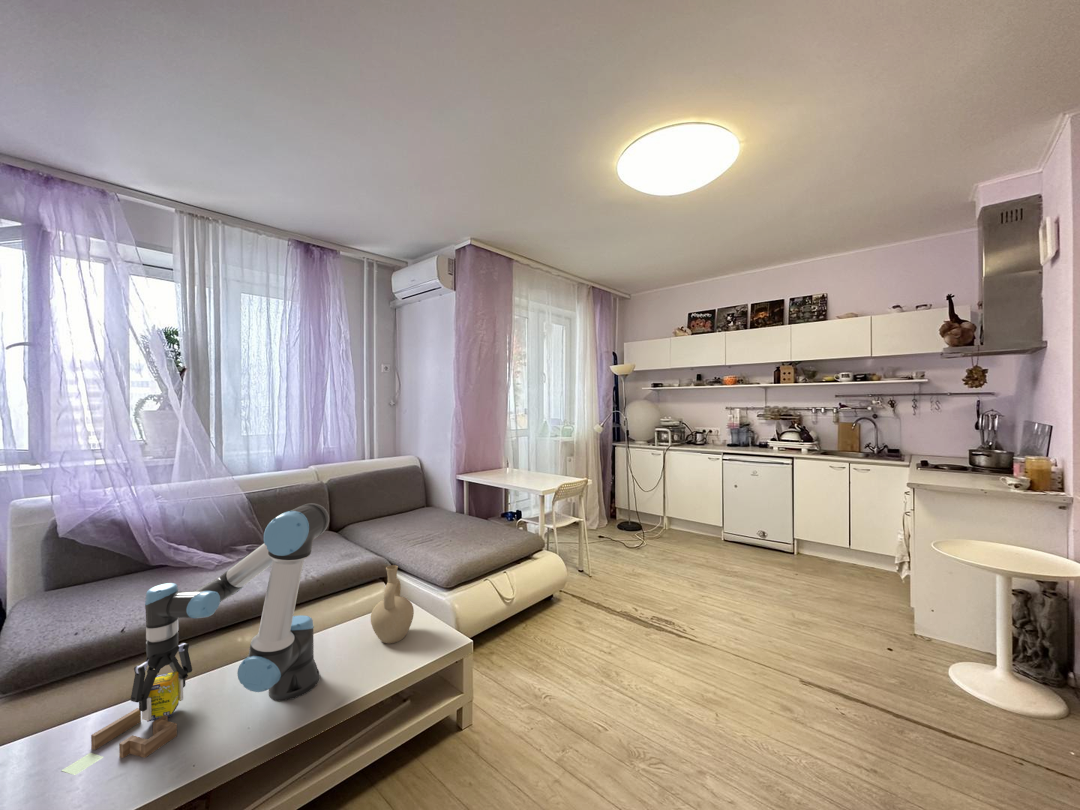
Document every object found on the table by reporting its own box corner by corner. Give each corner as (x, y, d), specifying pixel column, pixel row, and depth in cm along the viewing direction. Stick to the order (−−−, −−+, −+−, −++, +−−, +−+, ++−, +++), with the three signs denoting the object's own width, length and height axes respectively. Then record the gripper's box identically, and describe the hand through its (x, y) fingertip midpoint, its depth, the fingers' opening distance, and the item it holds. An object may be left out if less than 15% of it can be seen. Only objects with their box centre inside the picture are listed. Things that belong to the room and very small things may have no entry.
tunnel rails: (182, 733, 125) (182, 719, 125) (138, 763, 115) (138, 749, 115) (137, 720, 131) (137, 707, 130) (91, 749, 120) (91, 734, 120)
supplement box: (146, 722, 128) (146, 686, 128) (155, 709, 133) (155, 674, 133) (171, 716, 130) (171, 681, 130) (179, 704, 136) (178, 670, 136)
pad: (114, 760, 116) (114, 760, 116) (86, 779, 110) (86, 779, 110) (90, 753, 119) (90, 752, 119) (61, 770, 113) (61, 770, 113)
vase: (377, 630, 181) (376, 560, 181) (417, 628, 183) (416, 558, 183) (365, 653, 165) (364, 576, 165) (409, 650, 166) (408, 574, 166)
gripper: (189, 618, 143) (190, 685, 143) (112, 653, 123) (113, 731, 123) (206, 620, 141) (207, 689, 141) (130, 657, 120) (131, 737, 121)
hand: (163, 709), depth 132 cm, fingers closed on supplement box, 8 cm apart
